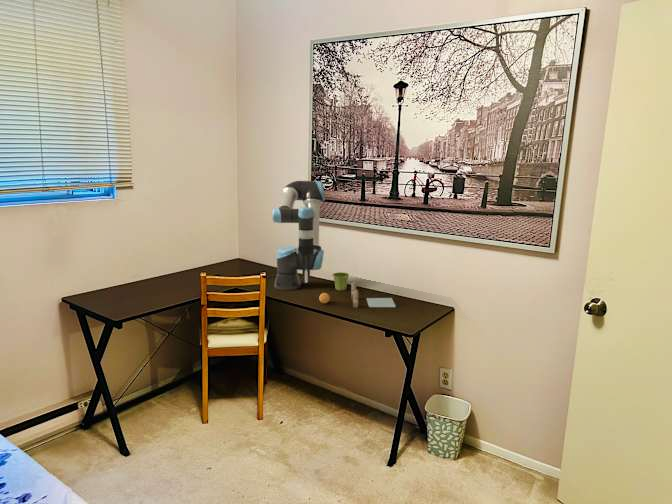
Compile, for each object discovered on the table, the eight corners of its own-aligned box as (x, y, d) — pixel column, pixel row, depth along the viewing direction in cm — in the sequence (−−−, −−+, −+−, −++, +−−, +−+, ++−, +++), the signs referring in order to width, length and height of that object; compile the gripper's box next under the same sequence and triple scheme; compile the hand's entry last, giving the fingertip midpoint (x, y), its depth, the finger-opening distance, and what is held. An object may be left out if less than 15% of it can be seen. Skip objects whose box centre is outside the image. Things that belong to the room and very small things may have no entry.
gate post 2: (352, 306, 259) (353, 289, 256) (357, 306, 259) (358, 289, 257) (353, 307, 256) (353, 291, 254) (358, 307, 256) (358, 291, 254)
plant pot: (347, 292, 281) (347, 277, 279) (331, 290, 283) (331, 276, 281) (350, 287, 290) (350, 272, 288) (334, 286, 292) (334, 271, 290)
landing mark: (366, 298, 271) (366, 298, 271) (391, 298, 271) (391, 297, 271) (369, 307, 257) (369, 306, 257) (395, 307, 258) (395, 306, 258)
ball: (319, 301, 265) (319, 291, 264) (329, 301, 266) (329, 291, 264) (319, 304, 260) (319, 294, 259) (329, 304, 260) (329, 294, 259)
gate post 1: (351, 298, 271) (351, 282, 269) (355, 298, 271) (356, 282, 269) (351, 299, 268) (351, 283, 266) (356, 299, 268) (356, 283, 266)
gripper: (292, 239, 250) (293, 284, 255) (318, 239, 251) (318, 283, 256) (293, 236, 257) (294, 280, 263) (318, 236, 258) (318, 279, 263)
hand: (306, 281), depth 259 cm, fingers closed
